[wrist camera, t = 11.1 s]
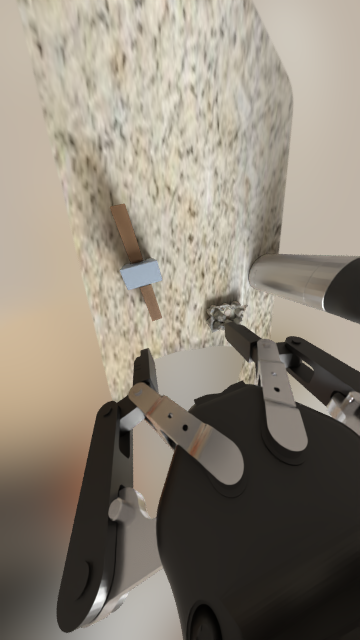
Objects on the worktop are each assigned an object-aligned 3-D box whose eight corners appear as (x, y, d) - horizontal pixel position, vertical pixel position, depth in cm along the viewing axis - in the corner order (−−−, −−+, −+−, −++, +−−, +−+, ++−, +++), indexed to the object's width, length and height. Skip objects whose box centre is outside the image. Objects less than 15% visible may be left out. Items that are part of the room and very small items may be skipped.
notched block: (151, 257, 28) (156, 260, 20) (155, 272, 30) (162, 280, 22) (124, 264, 27) (119, 270, 20) (130, 279, 29) (128, 290, 21)
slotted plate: (127, 215, 24) (124, 203, 18) (157, 305, 33) (162, 317, 27) (116, 217, 24) (109, 206, 18) (149, 308, 33) (152, 321, 27)
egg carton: (239, 299, 40) (250, 304, 36) (235, 322, 43) (244, 328, 39) (206, 303, 37) (214, 308, 33) (204, 327, 40) (211, 334, 37)
